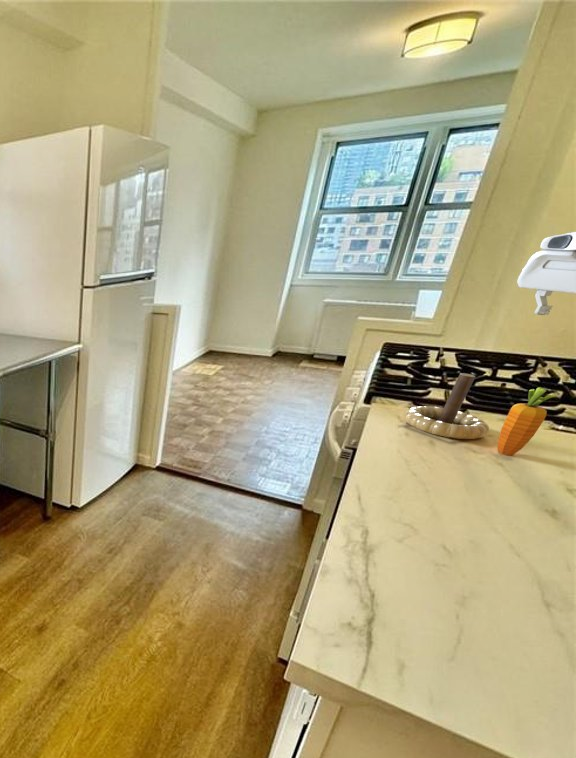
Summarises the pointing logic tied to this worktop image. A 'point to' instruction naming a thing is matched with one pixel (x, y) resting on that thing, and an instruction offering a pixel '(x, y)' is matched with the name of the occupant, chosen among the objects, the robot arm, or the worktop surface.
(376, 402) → the worktop surface
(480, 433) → the bracelet
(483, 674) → the worktop surface
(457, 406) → the brown peg stand
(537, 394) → the carrot
